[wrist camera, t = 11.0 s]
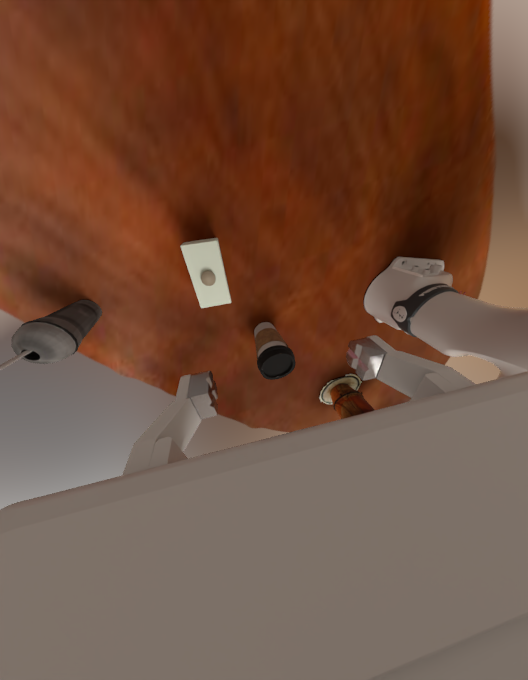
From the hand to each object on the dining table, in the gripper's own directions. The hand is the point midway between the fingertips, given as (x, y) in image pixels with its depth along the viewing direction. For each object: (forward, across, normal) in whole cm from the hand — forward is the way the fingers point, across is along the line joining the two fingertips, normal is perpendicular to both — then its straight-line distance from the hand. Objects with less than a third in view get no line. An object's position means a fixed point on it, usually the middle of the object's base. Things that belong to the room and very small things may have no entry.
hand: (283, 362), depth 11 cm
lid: (+30, +6, +2) cm, 31 cm away
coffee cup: (+35, -4, +21) cm, 41 cm away
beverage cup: (+35, +33, +7) cm, 49 cm away
